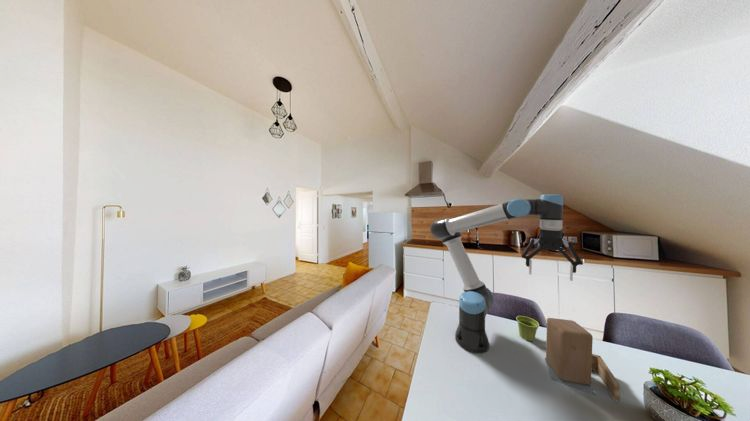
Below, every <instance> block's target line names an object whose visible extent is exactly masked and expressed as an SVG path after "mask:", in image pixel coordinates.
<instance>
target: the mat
mask: <svg viewBox="0 0 750 421" xmlns="http://www.w3.org/2000/svg"><path fill="white" fill-rule="evenodd" d="M544 359H545V363H546V366H547V369H548V373H549V377H550V380H553V381H556V382H558V383H560V384H561V383H562V384H564V385H567V386H570V387H572V388H575V389H578V390H581V391H584V392H586V393H588V394H593V395H594V396H596V393H595V391H594V388H593V386H592V384H590V385H585V384H579V383H573V382H568V381H563V380H561V379H560V378H559V377H558V376H557V375H556V373H555V372H554V371H553V370H552V368H551V367H550V366H549V365H548V363H547V362H546V357H545V358H544Z"/></svg>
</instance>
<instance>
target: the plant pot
mask: <svg viewBox="0 0 750 421" xmlns="http://www.w3.org/2000/svg"><path fill="white" fill-rule="evenodd" d="M515 319H516V321H517V326H518V334H519V336H520V337H521V339H522V340H526V341H528V342H531V341H532V342H534V341H535V338H536V334H537V331H538V329H539V327H540V323H539V322H538V321H537V320H535V319H534V318H531V317H528V316H523V315H517V316H516V317H515Z"/></svg>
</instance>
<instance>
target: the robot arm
mask: <svg viewBox="0 0 750 421" xmlns="http://www.w3.org/2000/svg"><path fill="white" fill-rule="evenodd" d="M563 214H564V197H563V195H562V194H557V193H556V194H555V193H554V194H542V195H540V198H535V199H533V198H532V199H529V198H526V199H525V198H515V199H509V200H508V201H507V202H503V203H500V204H496V205H492V206H490V207H487V208H483V209H480V210H477V211H473V212H470V213H466V214H462V215H460V216H457V217H453V218H449V217H446V218H442V219H437V220H434V221H433V222H432V223H431V225H430V228H429V229H430V230H429V231H430V234H431V235H432V237H433V238H435V239H437V240H439V241H440V240H441V242H442V245H446V248H447V249H448V252H449V255H450V256H451V258H452V261H453V263H454V265H455V267H456V270H457V272H458V274H459V277H460V278H461V280H462V283H463V287H462V290H463V292H462V293H460V295H459V300H458V306H459V307H458V309H459V311H458V321H459V322H458V326H457V327H456V330H455V332H454V333H455V334H454V336H455V338H454V340H455V342H456V343H457V344H458V345H459V346H460V347H461V348H462V349H464V350H465V351H468V352H471V353H473V354H484V353H485V354H486V353H487V352H488V351H489V350H490V341H489V338H488V335H487V332H486V317H487V314H489V311H490V309H492V308H493V305H494V300H495V299H494V295H493V292H492V290H490V289H489V288H488V287H487V286H486V284H485V282H483V281H481V280H480V278H479V277H478V274H477V271H476V270H475V268H474V265H473V264H472V262H471V260H470V257H469V255H468V253H467V251H466V248H465V247H464V245H463V244H464V243H463V242H462V238H463V237H462V236H463V235H462V233H461V232H464V231H467V230H471V229H472V230H473V229H476V228H480V227H484V226H488V225H492V224H496V223H500V222H504V221H508V220H512V219H516V218H522V217H525V216H539V228H540V229H539V234H538V236H539V237H538V239H537V238H532V237H531V238H530V241H529V243H528V245H527V246H526V247H525V249H524V251H522V253H521V254H520V256H521V258H522V259H525V266H526V267H528V275H530V276H531V275H532V263H533V262H532V261H533V260H532V258H533V257H534V256H536V255H538V254H539V253H540V252H541V251H543V250H545V251H553V252H555V251H558V252H559V253H560V254H561V255H562V256H563V257H564V258H565V259H567V261H568V262H569V263H568V267H567V268H568V270H567V272H568V273H567V275H568V276H567V278H568V279H567V280H569V281H570V282H571V281H573V279H574V278H573V275H574V274H576V273H577V266H580V265H581V266H582V265H584V263H583V261H582V259H581V258H580V256H579V254H578V253H577V252H576V250H575V248H574V246H573V242H572V241H570V240H568V241H563V230H562V229H563V218H564V215H563ZM537 243H538V246H536V248H535V249H534V250H532V251H531V249H532V248H533V247H534V245H536V244H537ZM564 245H565V247H567V249H568V250H569V252H570V253H571V255H572V256H573V259H572V258H571V257H570V255H568V253H566V251H564V249H563V248H561V247H562V246H564ZM530 251H531V252H530ZM529 252H530V253H529ZM574 259H575V261H574Z"/></svg>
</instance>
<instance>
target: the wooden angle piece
mask: <svg viewBox="0 0 750 421" xmlns="http://www.w3.org/2000/svg"><path fill="white" fill-rule="evenodd" d="M591 370H593V371H596V373H597V374H598V375H599V377H600V378H601V380H602V382H603V384H604V386H605V388H606V389H607V390H608V392H609V394H610V396H611V397H612V399H613V400H614V401H617V402H620V393H621V392H620V391H621V390H620V388H621V384H620V383H619V382H618V380H617V379H616V377H615V376H614V374H613V373H612V371H611V369H609V367H608V366H607V364H606V362H605V361H604V359H603V358H602V357H601V355H598V354H595V353H592V368H591Z"/></svg>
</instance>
